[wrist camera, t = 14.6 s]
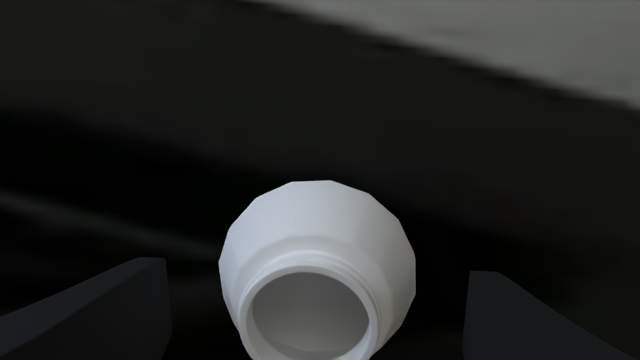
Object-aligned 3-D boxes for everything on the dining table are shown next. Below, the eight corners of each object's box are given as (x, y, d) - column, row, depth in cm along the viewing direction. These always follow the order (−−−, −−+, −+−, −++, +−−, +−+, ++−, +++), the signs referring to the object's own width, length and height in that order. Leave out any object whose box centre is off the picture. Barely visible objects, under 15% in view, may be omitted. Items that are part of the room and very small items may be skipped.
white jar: (192, 267, 14) (326, 373, 14) (148, 330, 11) (318, 458, 11) (309, 136, 12) (452, 261, 13) (294, 169, 9) (477, 326, 10)
